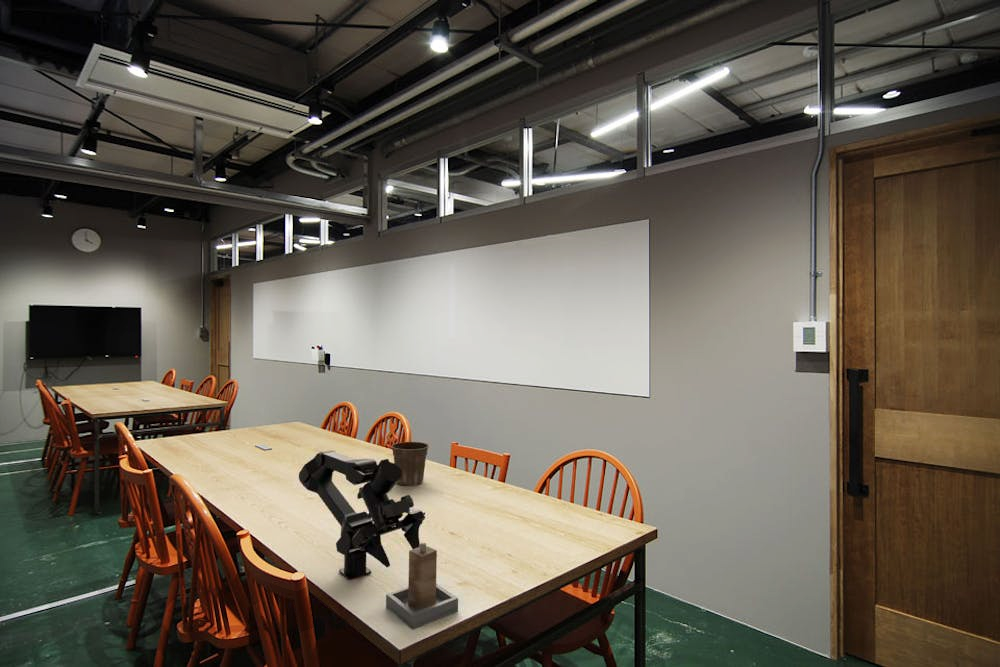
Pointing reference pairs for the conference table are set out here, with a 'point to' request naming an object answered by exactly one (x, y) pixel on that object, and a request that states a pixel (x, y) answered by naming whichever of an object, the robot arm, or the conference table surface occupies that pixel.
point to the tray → (413, 617)
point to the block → (422, 577)
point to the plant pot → (410, 461)
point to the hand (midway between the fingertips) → (404, 560)
